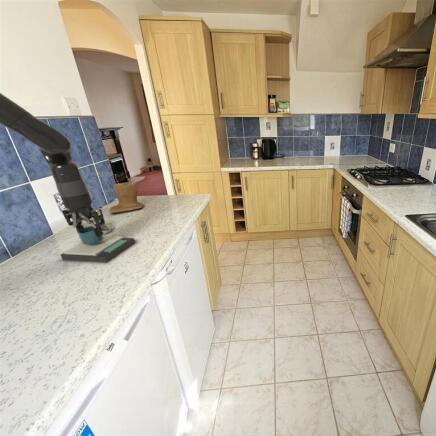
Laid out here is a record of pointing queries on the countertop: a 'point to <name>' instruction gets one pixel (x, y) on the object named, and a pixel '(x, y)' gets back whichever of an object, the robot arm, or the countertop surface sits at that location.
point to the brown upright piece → (126, 198)
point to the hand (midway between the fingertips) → (91, 235)
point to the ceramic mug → (95, 223)
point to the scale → (99, 250)
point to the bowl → (89, 236)
